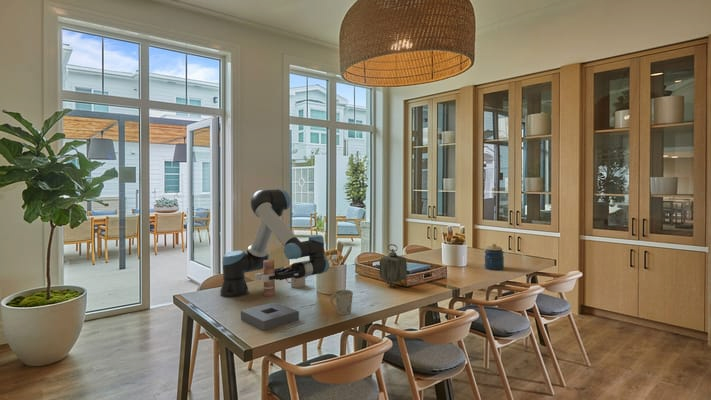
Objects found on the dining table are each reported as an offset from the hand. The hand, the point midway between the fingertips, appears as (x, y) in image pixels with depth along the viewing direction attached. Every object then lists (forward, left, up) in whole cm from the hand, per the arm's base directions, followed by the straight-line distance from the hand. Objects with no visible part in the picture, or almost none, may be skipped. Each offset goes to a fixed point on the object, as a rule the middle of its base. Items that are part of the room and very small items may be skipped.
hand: (258, 278), depth 174 cm
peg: (0, +5, -9) cm, 10 cm away
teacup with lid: (-39, +47, -20) cm, 64 cm away
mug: (+16, +34, -20) cm, 43 cm away
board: (0, +5, -20) cm, 21 cm away
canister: (+24, +172, -20) cm, 175 cm away
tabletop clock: (+3, +87, -20) cm, 89 cm away
